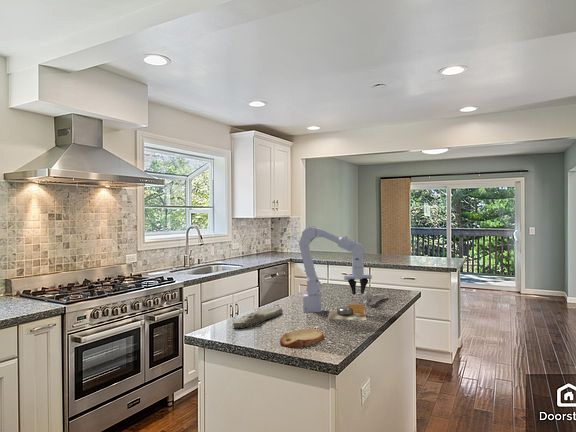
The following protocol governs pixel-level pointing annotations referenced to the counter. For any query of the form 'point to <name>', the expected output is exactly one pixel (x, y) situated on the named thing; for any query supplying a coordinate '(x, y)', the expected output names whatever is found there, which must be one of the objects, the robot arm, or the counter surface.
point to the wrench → (372, 297)
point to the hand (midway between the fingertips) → (358, 293)
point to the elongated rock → (256, 317)
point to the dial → (351, 309)
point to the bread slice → (301, 338)
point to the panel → (334, 315)
